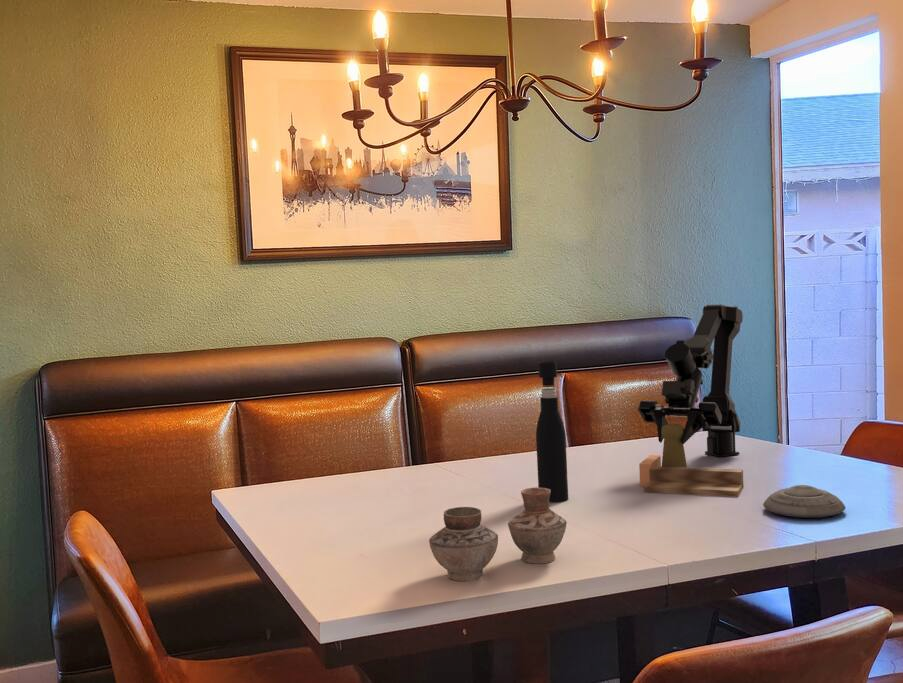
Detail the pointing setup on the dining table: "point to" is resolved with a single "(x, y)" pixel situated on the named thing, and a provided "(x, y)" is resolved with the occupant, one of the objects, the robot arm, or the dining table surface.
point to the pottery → (474, 545)
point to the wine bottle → (551, 439)
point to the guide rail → (689, 479)
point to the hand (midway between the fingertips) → (671, 442)
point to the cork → (673, 446)
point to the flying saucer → (804, 502)
